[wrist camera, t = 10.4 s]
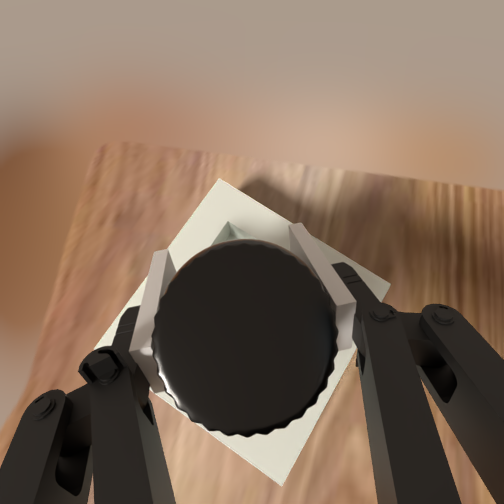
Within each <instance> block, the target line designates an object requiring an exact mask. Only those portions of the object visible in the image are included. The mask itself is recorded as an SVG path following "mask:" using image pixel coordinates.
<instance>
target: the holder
mask: <svg viewBox="0 0 504 504" xmlns="http://www.w3.org/2000/svg"><path fill="white" fill-rule="evenodd" d="M291 224H293V223H291V222H289V221H288V220H286V219H285V218H283V217H281V216H280V215H278V214H277V213H275V212H273V211H272V210H270V209H268V208H267V207H265V206H264V205H262V204H260V203H259V202H257V201H255V200H254V199H252V198H251V197H249V196H247V195H246V194H244V193H242V192H241V191H239V190H238V189H236V188H234V187H233V186H231V185H229V184H228V183H226V182H225V181H223V180H221V179H220V178H219V179H218V180H217V182H216V183H215V184H214V186H213V187H212V189H211V190H210V191H209V193H208V194H207V195H206V197H205V198H204V199H203V201H202V202H201V204H200V205H199V206H198V208H197V209H196V210H195V212H194V213H193V214H192V216H191V217H190V219H189V220H188V221H187V223H186V224H185V225H184V227H183V228H182V229H181V231H180V232H179V234H178V235H177V236H176V238H175V239H174V240H173V242H172V243H171V244H170V246H169V247H168V250H169V253H170V256H171V258H172V261H173V264H174V267H175V269H176V272H177V271H178V270H179V269H180V268H181V267H182V266H183V265H184V264H185V263H186V262H187V261H188V260H189V259H190V258H191V257H193V256H194V255H196V254H197V253H199V252H200V251H202V250H204V249H205V248H208V247H210V246H212V245H214V244H217V243H220V242H224V241H228V240H234V239H257V240H263V241H267V242H271V243H274V244H277V245H279V246H281V247H283V248H285V249H287V250H289V251H290V241H289V226H288V225H291ZM310 235H311V234H310ZM311 237H312V238H313V240H314V241H315V243H316V244H317V246H318V247H319V248H320V250H321V251H322V253H323V254H324V256H325V257H326V258H327V260H328V261H329V263H330V264H335V263H340V262H345V263H346V264H348V265H350V266H351V267H353V268H354V270H355V271H356V272H357V273H358V275H359V276H360V277H361V278H362V280H363V281H364V282H365V283H366V285H367V286H368V287H369V288H370V290H371V291H372V292H373V293H374V295H375V296H376V297H377V298H378V300H379V301H380V302H382V300H383V298H384V297H385V295H386V293H387V291H388V289H389V287H390V285H391V284H390V283H388V282H387V281H385V280H384V279H382V278H380V277H379V276H377V275H375V274H374V273H372V272H371V271H369V270H367V269H366V268H364V267H362V266H361V265H359V264H358V263H356V262H354V261H353V260H351V259H349V258H348V257H346V256H345V255H343V254H341V253H340V252H338V251H337V250H335V249H333V248H332V247H330V246H328V245H327V244H325V243H324V242H322V241H320V240H319V239H317V238H315V237H314V236H312V235H311ZM147 278H148V276H147V277H146V279H145V280H144V281H143V283H142V284H141V285H140V287H139V288H138V289H137V291H136V292H135V293H134V295H133V296H132V298H131V299H130V300H129V302H128V303H127V304H126V306H125V307H124V308H123V310H122V311H121V313H120V314H119V315H118V317H117V318H116V319H115V321H114V322H113V323H112V325H111V326H110V328H109V329H108V330H107V332H106V333H105V334H104V336H103V337H102V338H101V340H100V341H99V343H98V344H97V345H96V347H95V348H94V350H96V349H97V348H100V347H103V346H111V345H112V342H113V339H114V336H115V335H116V334H115V333H116V330H117V328H118V324H119V321H120V318H121V316H122V315H123V313H124V312H125V311H126V310H127V308H129V307H134V306H139V305H141V302H142V298H143V294H144V290H145V286H146V282H147ZM356 348H357V346H356V345H355V343H354V341H353V339H352V348H350V349H346V350H342V351H338V353H337V355H336V357H335V359H334V364H335V370H334V371H333V373H332V374H331V375H330V376H329V378H328V385H327V388H326V389H325V390H324V391H323V392H322V393H320V394H319V397H318V400H317V403H316V404H315V405H313V406H312V407H310V408H308V409H307V410H306V412H305V414H304V416H303V417H302V418H300V419H297V420H293V421H292V422H291V423H290V424H289V425H288V426H287V427H286V428H284V429H275V430H274V431H272V432H271V433H270V434H268V435H261V434H255V435H253V436H251V437H249V438H246V437H243V436H241V435H238V434H237V435H234V436H226V435H224V434H223V433H221V432H220V431H208V430H207V429H206V428H205V427H204V426H203V425H202V424H200V423H196V424H197V425H198V426H200V427H201V428H203V429H204V430H205V431H207V432H208V433H209V434H211V435H212V436H214V437H215V438H216V439H218V440H219V441H220V442H222V443H223V444H225V445H226V446H227V447H229V448H230V449H231V450H233V451H234V452H235V453H237V454H238V455H240V456H241V457H242V458H244V459H245V460H246V461H248V462H249V463H251V464H252V465H253V466H255V467H256V468H257V469H259V470H260V471H261V472H263V473H264V474H266V475H267V476H268V477H270V478H271V479H272V480H274V481H275V482H277V483H278V484H279V485H281V486H282V485H283V483H284V481H285V480H286V478H287V476H288V474H289V472H290V470H291V468H292V467H293V465H294V463H295V461H296V459H297V457H298V456H299V454H300V452H301V450H302V448H303V446H304V444H305V443H306V441H307V439H308V437H309V435H310V433H311V431H312V430H313V428H314V426H315V424H316V422H317V420H318V419H319V417H320V415H321V413H322V411H323V409H324V407H325V406H326V404H327V402H328V400H329V398H330V396H331V395H332V393H333V391H334V389H335V387H336V385H337V383H338V382H339V380H340V378H341V376H342V374H343V372H344V370H345V369H346V367H347V365H348V363H349V361H350V359H351V358H352V356H353V354H354V352H355V350H356ZM149 390H151V391H152V392H153V390H152V389H151V387H150V389H149ZM153 393H154V392H153ZM155 394H156V395H157V396H159V397H160V398H162V399H163V400H164V401H166V402H167V403H168V404H170V405H171V406H172V407H174V408H175V409H177V410H178V411H179V412H181V413H182V414H183V415H185V416H186V417H188V415H187V413H186V412H183V411H181V410H179V409H178V408H177V407H176V405H175V401H174V399H173V398H172V397H170V396H169V395H168V394H167V393H165V391H164V392H159V393H155ZM188 418H189V417H188ZM189 419H190V418H189ZM194 423H195V422H194Z"/></svg>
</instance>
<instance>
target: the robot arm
mask: <svg viewBox="0 0 504 504" xmlns="http://www.w3.org/2000/svg"><path fill="white" fill-rule="evenodd" d="M288 226H289V241H290V251H291V252H292V253H294V254H295V255H297V256H298V257H299V258H300V259H302V260H303V261H304V262H305V263H306V264H307V265H308V266H309V267H310V268H311V269H312V271H313V272H314V273H315V274H316V276H317V277H318V279H319V280H320V282H321V284H322V286H323V287H324V289H325V292H326V293H327V294H328V295H329V299H330V306H331V308H332V309H333V310H334V311H335V325H336V326H337V328H338V331H339V333H338V337H337V340H336V342H337V346H338V351H342V350H346V349H350V348H352V339H353V341H354V343H355V345H356V346H357V348H358V350H357V358H356V367H359V374H360V381H361V388H362V395H363V402H364V409H365V416H366V423H367V430H368V437H369V444H370V451H371V458H372V465H373V472H374V479H375V486H376V493H377V500H378V504H461V500H460V497H459V494H458V491H457V488H456V485H455V482H454V479H453V476H452V473H451V470H450V467H449V464H448V461H447V458H446V455H445V452H444V449H443V446H442V443H441V440H440V437H439V434H438V431H437V428H436V425H435V421H434V418H433V415H432V412H431V409H430V406H429V403H428V400H427V397H426V394H425V391H424V388H423V385H422V382H421V380H422V381H423V383H424V385H425V386H426V388H427V390H428V391H429V393H430V394H431V396H432V398H433V399H434V401H435V403H436V404H437V406H438V408H439V409H440V411H441V413H442V414H443V416H444V418H445V419H446V421H447V423H448V424H449V426H450V428H451V429H452V431H453V433H454V434H455V436H456V437H457V439H458V441H459V442H460V444H461V446H462V447H463V449H464V451H465V452H466V454H467V456H468V457H469V459H470V461H471V462H472V464H473V466H474V467H475V469H476V471H477V472H478V474H479V475H480V477H481V479H482V480H483V482H484V484H485V485H486V487H487V489H488V490H489V492H490V494H491V495H492V497H493V499H494V500H495V502H496V504H504V360H503V359H502V358H501V357H500V355H499V354H498V353H497V352H496V351H495V350H494V349H493V348H492V347H491V346H490V345H489V344H488V343H487V341H486V340H485V339H484V338H483V337H482V336H481V335H480V334H479V333H478V332H477V331H476V330H475V329H474V328H473V326H472V325H471V324H470V323H469V322H468V321H467V320H466V319H465V318H464V317H463V316H462V315H461V314H460V313H459V312H458V311H456V310H455V309H453V308H451V307H449V306H446V305H442V304H430V305H427V306H425V307H424V308H423V310H422V313H404V312H398V311H397V310H396V309H394V308H393V307H392V306H390V305H388V304H385V303H381V302H380V301H379V300H378V298H377V297H376V296H375V295H374V293H373V292H372V291H371V290H370V288H369V287H368V286H367V285H366V283H365V282H364V281H363V280H362V278H361V277H360V276H359V275H358V273H357V272H356V271H355V270H354V268H353V267H351V266H350V265H348V264H346V263H345V262H340V263H335V264H330V263H329V261H328V260H327V258H326V257H325V256H324V254H323V253H322V251H321V250H320V248H319V247H318V246H317V244H316V243H315V241H314V240H313V238H312V237H311V235H310V234H309V233H308V231H307V230H306V228H305V227H304V225H303V224H302V223H296V224H291V225H288ZM175 274H176V269H175V267H174V264H173V261H172V258H171V256H170V253H169V250H168V249H165V250H160V251H155V252H154V255H153V259H152V263H151V266H150V270H149V274H148V278H147V282H146V286H145V290H144V294H143V298H142V302H141V305H139V306H134V307H129V308H127V310H126V311H125V312H124V313H123V315H122V316H121V318H120V321H119V324H118V328H117V330H116V333H115V334H116V335H115V336H114V339H113V342H112V345H111V346H103V347H100V348H97V349H96V350H94V351H92V352H91V353H90V354H88V355H87V356H86V357H85V358H84V359H83V361H82V363H81V364H80V366H79V370H78V372H79V373H80V374H81V376H82V377H83V378H84V379H85V380H86V382H87V384H86V385H84V386H82V387H80V388H78V389H76V390H74V391H72V392H70V393H68V394H65V393H64V392H63V391H61V390H58V389H56V390H50V391H48V392H46V393H44V394H42V395H40V396H39V397H38V398H36V399H35V400H34V401H33V402H32V403H31V404H30V405H29V406H28V407H27V409H26V410H25V412H24V414H23V416H22V418H21V420H20V423H19V425H18V427H17V430H16V432H15V434H14V437H13V439H12V442H11V444H10V446H9V449H8V451H7V453H6V456H5V458H4V461H3V463H2V465H1V468H0V504H87V502H88V496H89V491H90V485H91V480H92V474H93V482H94V504H176V502H175V497H174V493H173V489H172V485H171V481H170V477H169V473H168V468H167V464H166V460H165V456H164V452H163V448H162V444H161V439H160V435H159V431H158V427H157V423H156V419H155V415H154V411H153V406H152V403H151V401H150V399H149V398H148V396H149V389H150V387H151V389H152V390H153V392H154V394H155V393H159V392H164V391H165V389H164V382H163V381H162V380H161V379H160V378H159V377H158V375H157V363H156V362H155V360H154V358H153V356H152V353H153V349H154V344H153V341H152V337H151V335H152V333H153V330H154V328H155V324H154V316H155V314H156V313H157V312H158V310H159V304H160V299H161V298H162V296H163V294H164V292H165V290H166V288H167V286H168V284H169V283H170V281H171V279H172V278H173V276H174V275H175ZM420 378H421V379H420Z"/></svg>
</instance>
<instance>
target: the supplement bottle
mask: <svg viewBox="0 0 504 504" xmlns="http://www.w3.org/2000/svg"><path fill="white" fill-rule="evenodd" d="M154 324H155V328H154V330H153V333H152V335H151V337H152V341H153V344H154V349H153V353H152V356H153V358H154V360H155V362H156V363H157V375H158V377H159V378H160V379H161V380H162V381H163V382H164V389H165V393H167V394H168V395H169V396H170V397H172V398H173V399H174V401H175V405H176V407H177V408H178V409H179V410H181V411H183V412H186V413H187V415H188V417H189V418H190V420H191V421H192V422H195V423H200V424H202V425H203V426H204V427H205V428H206V429H207V430H208V431H220V432H221V433H223V434H224V435H226V436H234V435H237V434H238V435H241V436H243V437H246V438H249V437H251V436H253V435H255V434H261V435H268V434H270V433H271V432H272V431H274V430H275V429H284V428H286V427H287V426H288V425H289V424H290V423H291V422H292V421H293V420H297V419H300V418H302V417H303V416H304V414H305V412H306V410H307V409H308V408H310V407H312V406H313V405H315V404H316V403H317V400H318V397H319V394H320V393H322V392H323V391H324V390H325V389H326V388H327V385H328V378H329V376H330V375H331V374H332V373H333V371H334V370H335V364H334V359H335V357H336V355H337V353H338V346H337V342H336V340H337V337H338V333H339V331H338V328H337V326H336V325H335V311H334V310H333V309H332V308H331V306H330V299H329V295H328V294H327V293H326V292H325V289H324V287H323V286H322V284H321V282H320V280H319V279H318V277H317V276H316V274H315V273H314V272H313V271H312V269H311V268H310V267H309V266H308V265H307V264H306V263H305V262H304V261H303V260H302V259H300V258H299V257H298V256H297V255H295V254H294V253H292V252H291V251H289V250H287V249H285V248H283V247H281V246H279V245H277V244H274V243H271V242H267V241H263V240H257V239H234V240H228V241H224V242H220V243H217V244H214V245H212V246H210V247H208V248H205V249H204V250H202V251H200V252H199V253H197V254H196V255H194V256H193V257H191V258H190V259H189V260H188V261H187V262H186V263H185V264H184V265H183V266H182V267H181V268H180V269H179V270H178V271H177V272H176V274H175V275H174V276H173V278H172V279H171V281H170V283H169V284H168V286H167V288H166V290H165V292H164V294H163V296H162V298H161V299H160V304H159V310H158V312H157V313H156V314H155V316H154Z"/></svg>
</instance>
